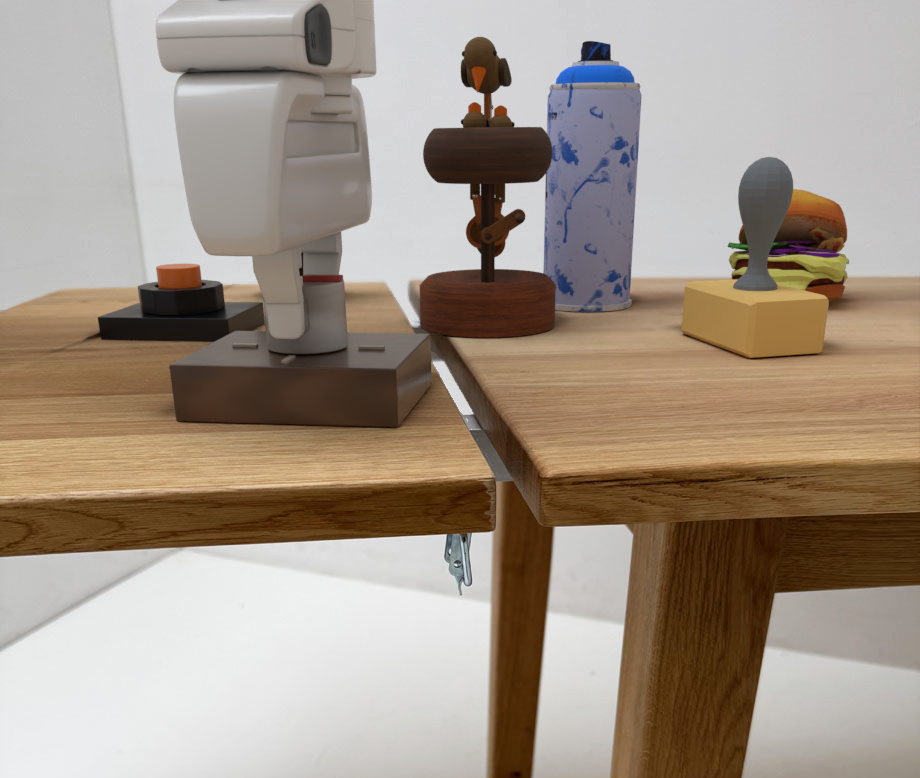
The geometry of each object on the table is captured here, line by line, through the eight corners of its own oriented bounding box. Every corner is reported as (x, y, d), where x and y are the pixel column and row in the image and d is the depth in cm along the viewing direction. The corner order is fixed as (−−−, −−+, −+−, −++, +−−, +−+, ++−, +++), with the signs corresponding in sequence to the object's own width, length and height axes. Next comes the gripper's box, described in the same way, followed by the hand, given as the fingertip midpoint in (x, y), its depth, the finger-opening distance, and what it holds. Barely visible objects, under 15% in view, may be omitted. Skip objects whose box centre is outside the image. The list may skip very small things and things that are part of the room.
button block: (100, 340, 76) (93, 291, 74) (146, 322, 83) (140, 277, 81) (230, 342, 74) (225, 293, 73) (265, 324, 82) (260, 278, 80)
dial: (256, 354, 55) (249, 279, 53) (281, 339, 59) (275, 269, 57) (336, 355, 54) (331, 280, 52) (356, 340, 58) (352, 270, 56)
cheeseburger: (719, 308, 85) (731, 180, 83) (724, 320, 95) (735, 206, 93) (848, 310, 82) (863, 178, 80) (839, 322, 92) (853, 205, 90)
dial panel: (175, 421, 54) (167, 361, 53) (240, 380, 63) (234, 327, 62) (398, 427, 52) (396, 365, 51) (431, 384, 61) (430, 330, 60)
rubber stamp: (824, 353, 68) (852, 157, 63) (746, 359, 67) (768, 159, 62) (749, 329, 77) (767, 154, 72) (678, 333, 76) (692, 156, 70)
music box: (405, 313, 85) (419, 40, 77) (534, 321, 87) (561, 54, 79) (424, 347, 71) (443, 18, 63) (576, 354, 73) (614, 36, 65)
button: (152, 293, 76) (148, 268, 75) (169, 287, 79) (166, 263, 78) (193, 293, 76) (190, 268, 75) (208, 287, 78) (206, 263, 78)
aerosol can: (559, 296, 94) (567, 47, 85) (642, 300, 90) (659, 42, 82) (526, 308, 87) (531, 40, 79) (614, 314, 84) (629, 35, 76)
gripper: (286, 53, 60) (304, 298, 66) (135, 19, 41) (179, 363, 47) (392, 51, 59) (400, 299, 65) (285, 15, 41) (310, 366, 46)
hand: (306, 327), depth 56 cm, fingers closed on dial, 4 cm apart
